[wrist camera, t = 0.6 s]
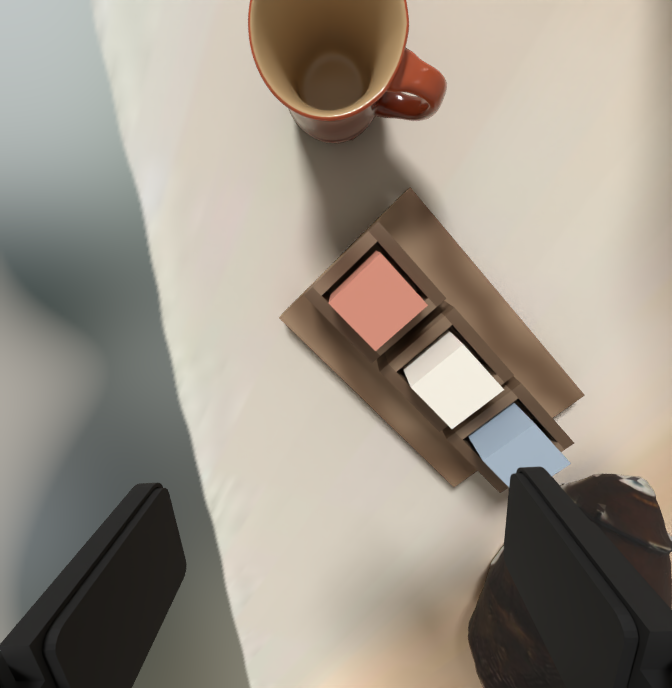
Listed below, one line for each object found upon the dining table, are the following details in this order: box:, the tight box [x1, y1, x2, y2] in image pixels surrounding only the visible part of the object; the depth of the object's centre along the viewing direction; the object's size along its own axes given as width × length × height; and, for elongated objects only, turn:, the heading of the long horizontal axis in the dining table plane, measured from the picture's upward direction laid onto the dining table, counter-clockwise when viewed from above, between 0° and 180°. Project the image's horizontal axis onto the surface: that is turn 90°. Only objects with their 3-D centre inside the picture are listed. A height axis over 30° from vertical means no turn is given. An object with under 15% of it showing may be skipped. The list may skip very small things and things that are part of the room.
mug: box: [248, 0, 447, 143], centre depth 24 cm, size 12×9×10 cm
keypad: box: [279, 187, 584, 493], centre depth 32 cm, size 16×26×6 cm, turn 44°
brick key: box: [328, 251, 428, 351], centre depth 26 cm, size 5×5×4 cm
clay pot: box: [468, 474, 672, 688], centre depth 36 cm, size 15×15×25 cm
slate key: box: [468, 402, 571, 487], centre depth 30 cm, size 5×5×4 cm
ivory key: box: [403, 330, 504, 429], centre depth 28 cm, size 5×5×4 cm
